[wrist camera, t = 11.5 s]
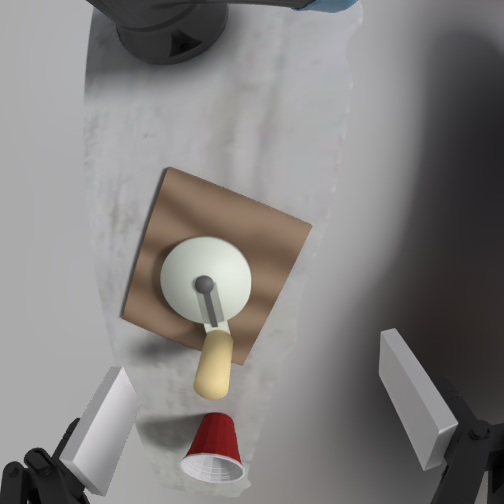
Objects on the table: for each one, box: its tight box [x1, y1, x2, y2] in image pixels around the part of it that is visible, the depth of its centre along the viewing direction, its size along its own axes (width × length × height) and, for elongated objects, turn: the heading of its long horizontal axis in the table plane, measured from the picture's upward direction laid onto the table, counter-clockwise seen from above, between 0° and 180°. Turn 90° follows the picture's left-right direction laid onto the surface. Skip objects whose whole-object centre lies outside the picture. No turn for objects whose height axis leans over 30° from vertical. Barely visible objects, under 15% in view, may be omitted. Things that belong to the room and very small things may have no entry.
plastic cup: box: [179, 413, 245, 483], centre depth 47 cm, size 11×11×12 cm
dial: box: [160, 235, 251, 400], centre depth 38 cm, size 17×12×12 cm
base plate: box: [122, 167, 312, 366], centre depth 43 cm, size 24×20×1 cm
